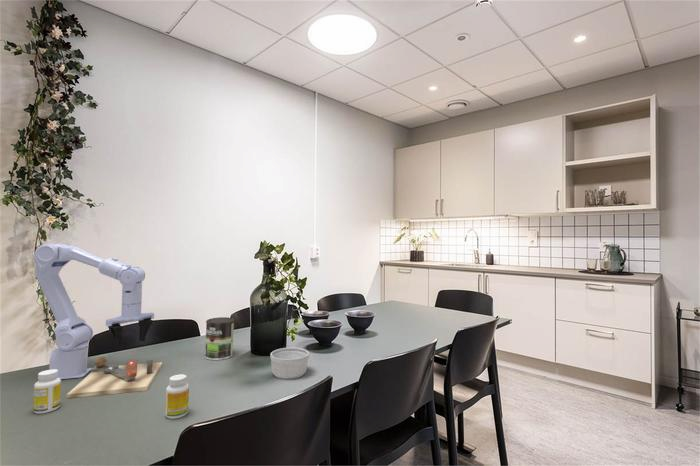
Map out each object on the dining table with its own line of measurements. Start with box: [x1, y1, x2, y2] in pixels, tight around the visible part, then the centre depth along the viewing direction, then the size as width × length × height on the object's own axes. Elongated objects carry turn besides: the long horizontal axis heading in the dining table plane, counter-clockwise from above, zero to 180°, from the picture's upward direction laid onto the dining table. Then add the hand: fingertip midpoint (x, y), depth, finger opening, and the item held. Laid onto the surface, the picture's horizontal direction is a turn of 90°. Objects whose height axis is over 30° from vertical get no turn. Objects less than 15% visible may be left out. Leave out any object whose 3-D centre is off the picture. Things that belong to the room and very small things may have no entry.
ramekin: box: [269, 347, 310, 380], centre depth 120 cm, size 13×13×7 cm
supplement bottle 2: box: [164, 373, 190, 420], centre depth 91 cm, size 5×5×10 cm
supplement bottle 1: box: [32, 369, 62, 415], centre depth 92 cm, size 5×5×10 cm
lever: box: [104, 359, 138, 381], centre depth 112 cm, size 16×4×6 cm, turn 58°
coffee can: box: [204, 316, 235, 361], centre depth 137 cm, size 10×10×14 cm
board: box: [66, 356, 163, 399], centre depth 112 cm, size 20×22×5 cm
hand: (130, 343), depth 118 cm, fingers open, 7 cm apart
